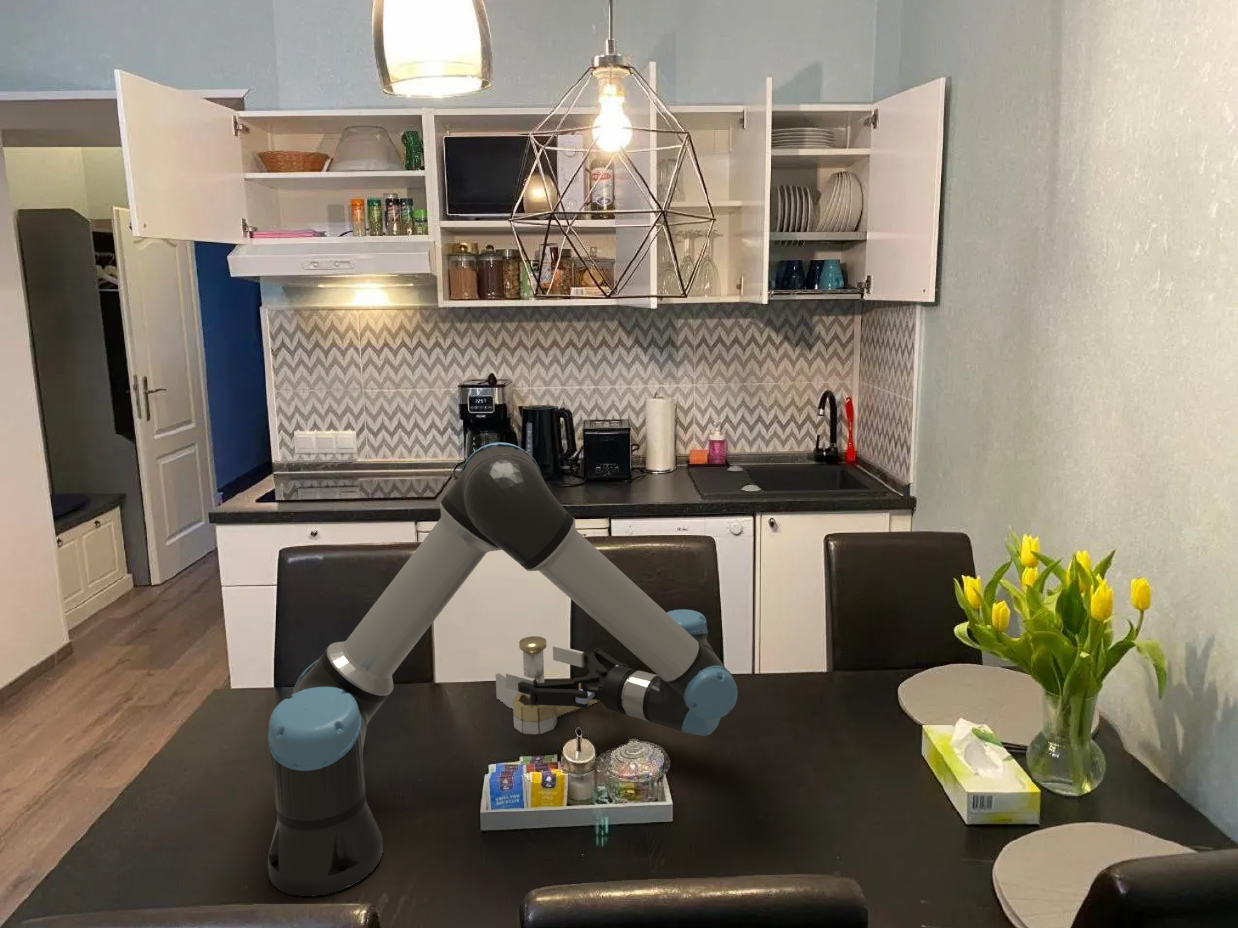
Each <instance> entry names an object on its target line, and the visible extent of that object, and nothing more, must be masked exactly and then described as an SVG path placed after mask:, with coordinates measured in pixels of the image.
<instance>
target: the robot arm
mask: <svg viewBox="0 0 1238 928" xmlns="http://www.w3.org/2000/svg"><path fill="white" fill-rule="evenodd" d="M439 509H440V518H439V520H438V521H437V522H436V523H435V524H434V526H433V528H431V530H430V532H429V533H427V535H426V537H425V538H424V539H423V540H422V542H421V543H420V544H419V546H418V547H417V548H416V549H415V551H414V552H413V553H412V555H411V556H410V557H409V558H408V559H407V561H406V563H404V565H403V566H402V568H401V569H400V570H399V571H398V573H397V574H396V575H395V577H394V578H392V580H391V582H390V583H389V584H388V586H387V587H386V588H385V590H384V591H383V592H382V594H381V595H380V596H379V597H378V598H377V600H376V601H375V603H373V604H372V606H371V607H370V608H369V610H368V612H367V613H365V616H363V618H362V620H360V622H359V623H358V624H357V626H356V627H355V629H354V630H353V631H352V633H350V634H349V636H348V637H347V639H346V640H345V641H336V642H332V643H330V645H328V647H327V648H326V649H325V650H324V652H323V653H322V655H321V656H320V657H319V658H318V659H317V660H315V661H313V663H311V664H310V665H309V666H308V667H307V668H306V669H305V670H303V672H302V673H301V674H300V676H299V677H298V679H297V680H296V683H295V685H294V688H293V690H292V694H291V695H290V698H285V699H283V700H282V701H281V702H279V703H278V705H276V706H275V707H274V709H273V710H272V712H271V714H270V718H269V720H268V721H269V722H268V732H267V742H268V749H269V751H270V759H271V770H272V771H271V772H272V778H273V779H272V780H273V789H274V800H275V808H276V819H277V820H276V824H275V827H274V831H273V836H272V840H271V843H270V847H269V851H268V856H267V870H268V878H269V877H270V878H269V881H270V880H271V881H270V882H272V883H273V884H272V883H271V884H272V886H274V885H275V886H276V887H277V888H279V889H280V890H282V891H283V892H282V891H281V892H282V893H284V892H286V893H287V895H291V896H294V895H295V897H302V896H303V895H304V896H312V895H322V896H326V894H327V895H330V894H329V893H332V894H334V893H333V892H335V893H337V892H336V891H339V890H341V889H343V888H345V887H346V886H348V885H352V884H354V883H356V882H357V881H359V880H361V879H362V878H363V877H365V876H366V875H367V874H369V873H370V872H371V871H372V870H373V869H374V868H375V867H376V866H377V864H378V863H379V861H380V858H381V856H382V857H383V855H382V853H383V852H384V848H383V847H384V844H383V837H382V832H381V830H380V827H379V826H378V823H377V822H376V820H375V817H374V815H373V813H372V811H371V808H370V807H369V805H368V802H367V798H366V797H367V796H366V782H365V771H364V770H365V769H364V758H363V757H364V746H365V740H366V735H367V730H368V725H369V723H370V721H371V719H372V718H373V716H374V715H375V714H376V712H378V710H379V708H380V707H381V706H382V705H383V703H384V702H385V701H386V700H387V698H388V697H389V696H390V694H391V693H393V690H394V680H393V674H394V673H395V671H397V670H398V668H399V666H400V665H401V664H402V662H403V661H404V660H405V659H406V658H407V656H408V654H410V652H411V651H412V650H413V649H414V648H415V646H416V644H417V643H418V642H419V640H420V639H422V636H423V635H424V634H425V633H426V631H427V630H428V629H429V627H431V625H432V624H433V623H434V621H436V618H438V617H439V615H440V614H441V612H443V610H444V608H445V607H446V606H447V605H448V603H449V602H450V601H451V599H452V598H453V597H454V595H455V594H456V593H457V591H459V589H460V588H461V587H462V585H463V584H464V583H465V582H466V581H467V579H468V578H469V576H470V575H471V574H472V572H474V570H475V569H476V567H477V566H478V565H479V564H480V562H481V561H482V559H483V558H484V557H485V556H486V554H487V553H490V552H496V551H503V552H504V553H506V554H507V555H508V556H509V557H511V559H513V560H514V561H515V562H517V563H518V564H519V565H520V566H521V567H522V568H523V569H525V570H526V572H537V571H538V572H540V573H541V574H542V575H543V576H544V577H545V578H546V579H548V580H549V581H550V582H551V583H552V584H553V585H554V586H556V587H557V588H558V589H559V590H560V591H561V592H562V593H564V594H565V595H566V596H567V597H568V598H569V599H571V600H572V602H574V603H575V604H576V605H578V607H579V608H581V609H582V610H583V611H584V612H585V613H586V614H587V615H589V617H591V618H592V619H593V620H594V621H596V622H597V623H598V624H599V625H600V626H601V627H602V628H604V629H605V630H606V632H608V633H609V634H610V635H611V636H613V637H614V638H615V639H616V640H618V642H620V644H622V645H623V646H624V647H625V648H627V650H628V651H630V652H631V653H632V654H633V655H635V657H636V658H638V659H639V660H640V661H641V662H642V663H644V664H645V665H646V666H647V668H649V670H652V671H653V672H654V673H655V674H654V673H650V672H646V671H643V670H636V669H633V668H630V667H629V665H628V664H627V663H623V662H620V661H619V660H617V659H615V658H614V657H612V656H611V655H610V654H608V653H607V652H605V651H603V650H602V649H601V648H594V649H593V652H592V651H590V650H589V651H588V650H587V651H585V652H584V651H581V650H577V649H573V648H569V647H566V646H565V647H564V646H561V645H556V644H554V645H553V646H552V658H553V661H555V662H560V663H563V664H567V665H571V666H574V667H575V666H576V667H579V668H584V667H585V669H586V670H588V671H589V673H588V674H587V675H585V676H579V677H574V678H573V680H561V681H550V682H549V681H547V682H544V683H538V680H537V679H533V678H529V677H525V676H524V675H522V674H517V673H515V672H510V671H508V672H506V673H505V677H506V688H508V689H512V690H515V691H519V692H521V693H524V694H527V695H530V704H531V705H553V706H575V707H580V708H583V709H587V708H589V706H588V701H590V700H597V701H600V702H601V703H602V705H603V706H604V708H606V709H607V711H611V712H614V713H618V714H622V715H627V716H629V717H632V718H635V719H636V718H638V719H640V720H644V721H645V722H650V723H654V724H657V725H660V726H663V727H668V728H670V729H674V730H677V731H681V732H682V733H684V734H685V733H686V734H691V735H695V736H703V737H705V736H710V735H711V734H712V733H713V732H714V731H715V730H716V729H717V727H718V726H719V723H720V722H721V718H723V717H725V716H727V715H728V713H730V712H731V710H732V709H733V708H734V706H735V705H736V703H737V700H738V693H739V692H738V686H737V684H736V683H737V682H736V681H735V679H734V677H733V676H732V672H731V671H729V670H728V669H727V668H726V666H725V665H724V663H722V661H721V660H720V658H719V657H718V656H717V654H716V652H715V651H714V649H713V648H712V646H711V645H710V643H709V642H708V633H709V630H708V628H707V627H708V626H707V618H706V617H705V615H704V614H703V613H701V612H699V611H696V610H693V609H674V610H669V611H667V612H666V611H665V610H664V609H663V608H662V607H661V606H660V605H659V604H658V603H656V601H654V600H653V599H652V598H651V597H650V596H649V595H648V594H647V593H646V592H645V591H644V590H642V588H640V587H639V586H638V585H637V584H635V583H634V581H632V579H630V578H629V576H627V575H626V574H625V573H624V572H623V571H621V570H620V569H619V567H617V565H615V564H614V563H613V562H612V561H610V559H608V558H607V556H605V555H604V554H603V553H602V552H601V551H600V550H598V549H597V547H595V546H594V544H592V543H591V542H590V541H589V540H588V539H587V538H585V536H583V535H582V534H581V533H580V532H579V531H578V530H577V529H576V518H575V517H573V515H572V514H570V513H569V512H568V511H567V510H566V509H565V508H564V506H562V505H561V503H560V502H559V501H558V500H557V498H556V497H555V496H554V494H553V493H552V492H551V490H550V489H549V487H548V485H547V483H546V482H545V480H544V478H543V476H542V472H541V468H540V466H539V465H538V462H537V461H536V459H535V458H534V457H532V456H531V454H529V452H527V451H526V450H525V449H523V448H521V447H519V446H517V445H516V444H512V443H508V442H492V443H488V444H486V445H483V446H481V447H479V448H478V449H476V450H475V451H474V452H472V453H471V455H469V457H468V458H467V459H466V460H465V463H464V465H463V467H462V471H461V474H460V475H459V477H458V478H457V479H456V480H455V482H454V483H453V485H452V486H451V487H450V488H449V490H448V491H447V492H446V494H445V496H444V497H442V499H441V500H440V502H439ZM579 683H581V689H580V690H579ZM380 862H381V861H380ZM379 864H380V863H379ZM377 867H378V866H377ZM377 867H376V868H377ZM275 886H274V887H275ZM276 887H275V888H276ZM277 888H276V889H277ZM280 890H279V891H280ZM341 891H342V890H341ZM339 892H340V891H339ZM286 893H285V894H286ZM296 895H297V896H296ZM298 895H299V896H298Z"/></svg>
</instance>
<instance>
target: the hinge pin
mask: <svg viewBox="0 0 1238 928" xmlns="http://www.w3.org/2000/svg"><path fill="white" fill-rule="evenodd" d="M518 643H519V644H518V645H519V650H521V651H522V658H523V659H522V660H523V676H525V677H529V678H533V679H537V680H538V683H545V663H544V661H545V660H544V650H545V649H547V639H546V638H544V637H542V636H537V635H534V636H532V635H531V636H525V637H523V638H521V639H520V640H519V641H518ZM525 705H531V704H530V695H527V694H525ZM532 706H538V705H532Z"/></svg>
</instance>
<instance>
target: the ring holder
mask: <svg viewBox="0 0 1238 928" xmlns="http://www.w3.org/2000/svg"><path fill="white" fill-rule="evenodd" d="M495 689H496V690H495V691H496V692H495V694H496V699H497V700H498V699H499V700H500V701H499V700H498V701H499V702H501V703H502V702H503V703H502V704H504V705H505V706H506V707H508V708H509V709H511V708H512V709H513V710H512V709H511V710H512V713H513V727H514V729H516V730H517V731H518V732H519V733H521V734H524V735H542V734H545V733H547V732H550V731H552V730H554V729H555V727H556V726H557V724H558V718H560V717H562V716H561V715H563V714H565V713H567V712H570V711H573V710H575V709H579V708H580V707H575V706H553V705H538V706H532V705H525V694H524V693H521V692H519V691H515V690H512V689H508V688H506V676H504V675H503V674H501V673H500V672H499V673H497V674H496V673H495ZM580 689H581V683H579V690H580ZM594 703H597V704H598V700H590V701H588V707H590V706H589V705H591V706H593V705H592V704H594ZM594 705H595V704H594ZM559 716H560V717H559ZM563 716H564V715H563ZM557 717H558V718H557Z"/></svg>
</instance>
